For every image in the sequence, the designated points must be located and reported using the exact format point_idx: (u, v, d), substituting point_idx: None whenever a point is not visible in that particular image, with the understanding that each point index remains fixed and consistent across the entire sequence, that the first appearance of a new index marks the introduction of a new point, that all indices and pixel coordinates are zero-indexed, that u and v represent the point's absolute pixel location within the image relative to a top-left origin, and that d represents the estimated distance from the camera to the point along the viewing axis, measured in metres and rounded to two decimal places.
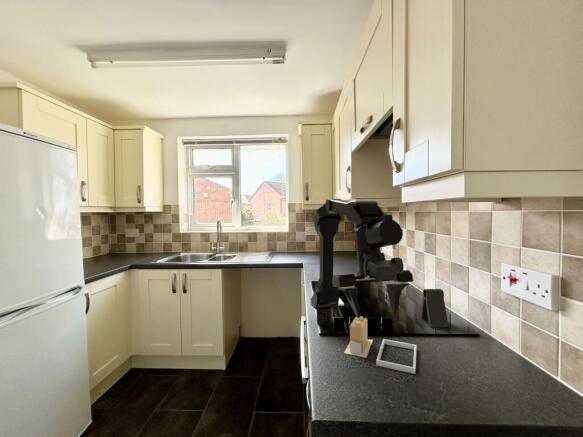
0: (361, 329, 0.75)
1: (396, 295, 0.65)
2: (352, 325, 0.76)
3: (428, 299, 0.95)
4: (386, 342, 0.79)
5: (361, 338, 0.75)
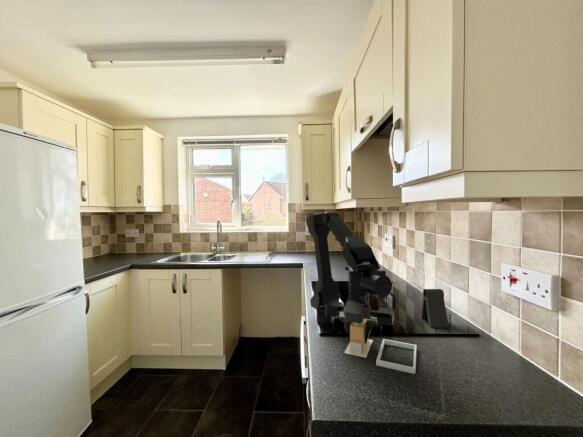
0: (361, 329, 0.75)
1: (366, 330, 0.76)
2: (352, 325, 0.76)
3: (428, 299, 0.95)
4: (386, 342, 0.79)
5: (361, 338, 0.75)
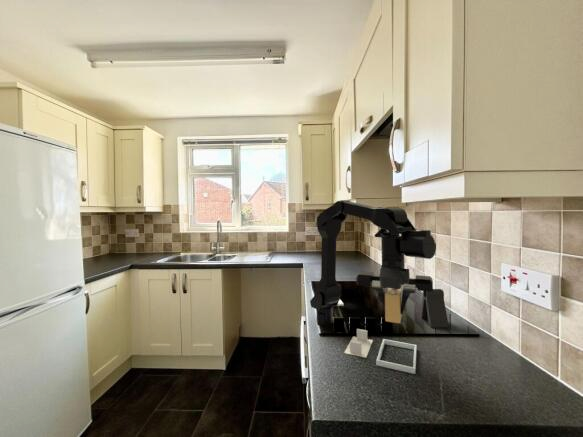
0: (398, 297, 0.69)
1: (402, 299, 0.70)
2: (387, 294, 0.70)
3: (428, 299, 0.95)
4: (386, 342, 0.79)
5: (398, 307, 0.69)
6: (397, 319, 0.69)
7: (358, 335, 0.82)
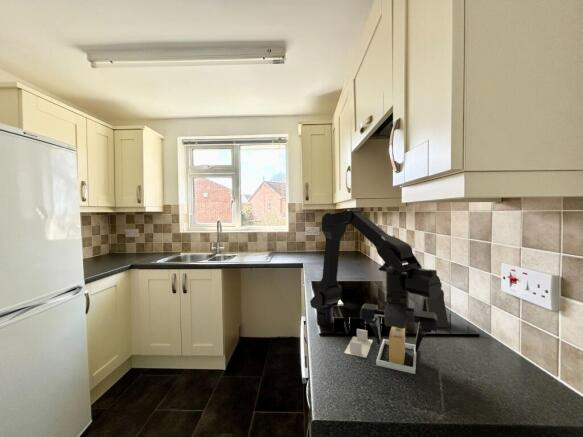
0: (402, 340, 0.69)
1: (418, 337, 0.69)
2: (391, 336, 0.70)
3: (428, 299, 0.95)
4: (386, 342, 0.79)
5: (402, 350, 0.69)
6: (401, 362, 0.69)
7: (358, 335, 0.82)
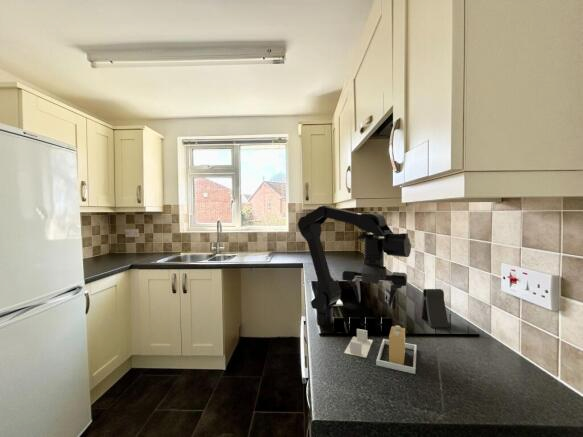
0: (402, 340, 0.69)
1: (390, 293, 0.81)
2: (391, 336, 0.70)
3: (428, 299, 0.95)
4: (386, 342, 0.79)
5: (402, 350, 0.69)
6: (401, 362, 0.69)
7: (358, 335, 0.82)
